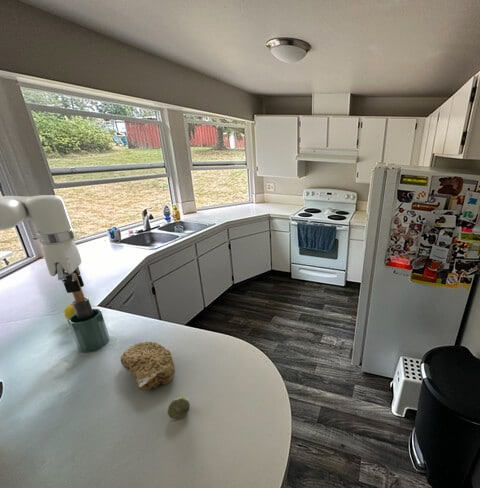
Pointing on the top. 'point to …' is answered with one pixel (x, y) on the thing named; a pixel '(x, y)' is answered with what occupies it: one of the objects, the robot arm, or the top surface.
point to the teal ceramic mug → (89, 331)
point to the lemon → (69, 311)
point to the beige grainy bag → (149, 364)
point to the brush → (81, 303)
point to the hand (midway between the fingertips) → (75, 289)
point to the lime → (178, 408)
